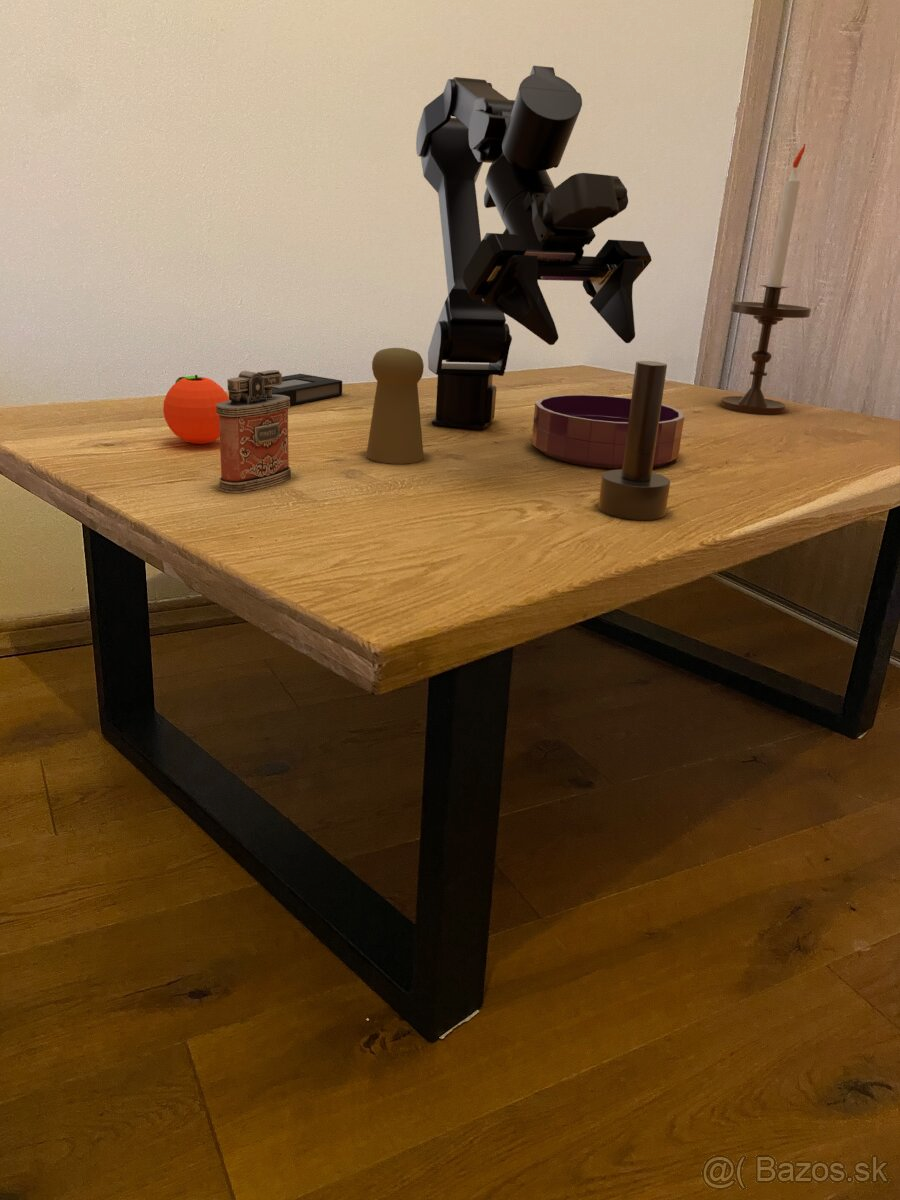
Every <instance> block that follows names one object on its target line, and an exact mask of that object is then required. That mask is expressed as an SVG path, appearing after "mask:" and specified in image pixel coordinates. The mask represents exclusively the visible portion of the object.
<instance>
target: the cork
mask: <svg viewBox="0 0 900 1200" xmlns="http://www.w3.org/2000/svg"><path fill="white" fill-rule="evenodd" d="M424 365H425V364H424V360H423V358H422V356H421V354H420V353H419V352H417V351H416V350H412V349H409V348H404V347H389V348H383V349H380V350H378V351H377V352H376V353H374V356H373V358H372V361H371V368H372V369H371V371H372V374H373V377H374V378H375V380H376V389H375V393H374V394H375V395H374V400H373V401H374V402H373V408H372V414H371V421H370V427H369V435H368V441H367V447H366V458H367V459H369V460H370V461H371V460H372V461H374V462H378V463H383V464H392V465H393V464H395V465H405V464H414V463H419V462H421V461H423V460H424V458H425V457H424V445H423V434H422V433H423V432H422V423H421V420H422V419H421V409H420V400H419V399H420V398H419V388H418V387H419V386H418V383H419V382H420V381H421V379H422V377H423V373H424V369H425V368H424V367H425V366H424Z"/></svg>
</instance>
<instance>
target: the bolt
mask: <svg viewBox="0 0 900 1200" xmlns="http://www.w3.org/2000/svg"><path fill="white" fill-rule="evenodd" d="M667 368H668V365H667V363H665V362H661V361H654V360H638V361H636V362H635V368H634V375H633V381H632V382H633V383H632V390H631V396H630V398H631V405H630V413H629V421H628V429H627V436H626V444H625V452H624V460H623V468H622V469H609V470H606V471H604V472H603V473H602V474H601V481H600V489H599V496H598V497H599V498H598V505H597V507H598V510H599V511H600V512H602V513H604V514H606V515H608V516H611V517H614V518H619V519H624V520H630V521H631V520H632V521H653V520H654V521H655V520H659V519H662V518H664V517H666V513H667V507H668V500H669V496H670V495H669V493H670V488H671V480H670V479H669V478H668V477H667V476H665V475H662V474H660V473H655V472H653V468H654V467H653V461H654V454H655V447H656V440H657V433H658V426H659V419H660V412H661V404H663V396H664V391H665V390H664V389H665V383H666V375H667Z"/></svg>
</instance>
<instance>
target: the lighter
mask: <svg viewBox="0 0 900 1200" xmlns="http://www.w3.org/2000/svg"><path fill="white" fill-rule="evenodd" d="M282 377H283V373H281V371H280V370H278V369H269V370H262V371H257V372H255V371H254V372H252V371H248V370H243V371H241V372H239V374H238V376H237V377H229V378H227V380H226V381H227V382H226V383H227V392H228V396H229V395H230V397H231V400H229V401H225V402H221V403H218V404H216V409H217V414H218V415H219V429H220V437H219V447H220V448H219V450H220V474H221V475H220V477H219V481H218V482H219V490H221V491H222V492H225V493H226V492H227V493H234V494H236V493H237V494H239V493H245V492H250V491H255V490H260V489H264V488H268V487H272V486H275V485H278V484H280V483H283V482H285V481H287V480H289V479H291V478H292V476H291V475H292V470H291V469H292V468H291V466H289V465H290V463H289V462H290V461H289V408H290V407H291V405H290V397H288V396H285V395H275V394H272V389H271V386H277V385H282Z"/></svg>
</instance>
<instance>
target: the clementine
mask: <svg viewBox="0 0 900 1200" xmlns="http://www.w3.org/2000/svg"><path fill="white" fill-rule="evenodd" d="M174 382H175V383H174V384H172V386H171V387H170V388H169V390H168V391H167V392H166V395H165V398H164V400H163V407H162V411H163V417H164V421H165V422H166V425H167V426H168V428H169V430H171V432H172V433H173V434H174V435H175V437H178V438H179V439H180V440H182V441H184V442H187V443H190V444H195V445H205V444H209V443H211V442H214V441H216V440H217V439H220V429H219V415H218V414H217V409H216V404H218V403H221V402H225V401H229V394H228V393H227V392H226V391H225V390H224V388H223V387H222V386H221V385H220V384H218V383H217V382H216V381H215V380H212V379H211V378H208V377H202V376H198V374H194V375H188V376H187V375H186V376H179V377H177V379H176V380H175V381H174Z"/></svg>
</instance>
